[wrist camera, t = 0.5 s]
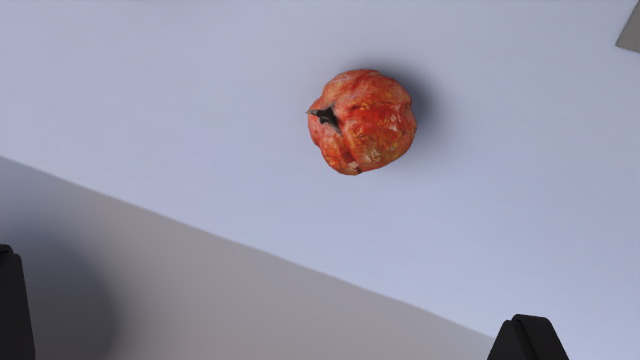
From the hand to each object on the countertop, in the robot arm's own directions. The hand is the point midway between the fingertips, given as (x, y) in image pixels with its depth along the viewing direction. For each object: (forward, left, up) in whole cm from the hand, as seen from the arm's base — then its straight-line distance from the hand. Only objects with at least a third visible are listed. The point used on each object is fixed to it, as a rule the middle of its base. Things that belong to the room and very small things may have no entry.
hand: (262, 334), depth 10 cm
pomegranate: (+6, +5, -31) cm, 32 cm away
